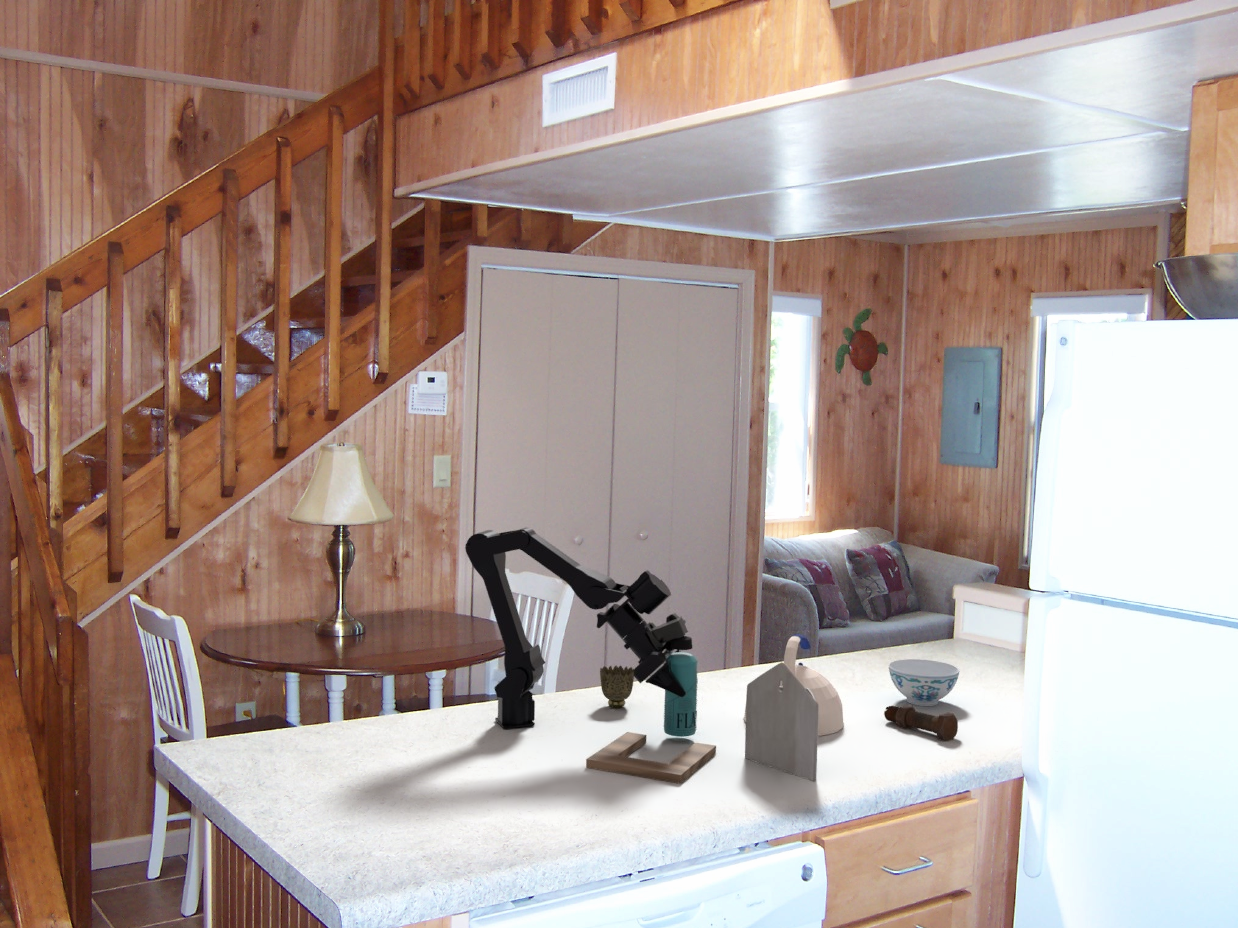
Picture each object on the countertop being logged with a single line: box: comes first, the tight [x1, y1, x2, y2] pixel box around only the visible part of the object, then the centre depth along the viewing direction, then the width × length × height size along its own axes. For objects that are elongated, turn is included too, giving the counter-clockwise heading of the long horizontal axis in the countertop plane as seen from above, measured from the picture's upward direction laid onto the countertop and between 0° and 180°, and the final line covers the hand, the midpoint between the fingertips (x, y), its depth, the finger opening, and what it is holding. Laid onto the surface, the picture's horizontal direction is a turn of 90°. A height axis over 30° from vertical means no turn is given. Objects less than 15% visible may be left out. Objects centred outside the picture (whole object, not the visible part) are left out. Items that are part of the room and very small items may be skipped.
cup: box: [599, 665, 635, 709], centre depth 240 cm, size 8×7×8 cm
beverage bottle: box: [663, 635, 699, 738], centre depth 218 cm, size 6×7×20 cm
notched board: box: [585, 731, 717, 785], centre depth 206 cm, size 18×18×2 cm
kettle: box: [743, 634, 845, 737], centre depth 231 cm, size 20×21×18 cm
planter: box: [744, 661, 819, 782], centre depth 204 cm, size 16×8×19 cm, turn 42°
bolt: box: [883, 704, 959, 742], centre depth 227 cm, size 6×5×15 cm
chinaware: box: [888, 658, 960, 707], centre depth 248 cm, size 15×15×8 cm
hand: (687, 690), depth 218 cm, fingers closed on beverage bottle, 6 cm apart
